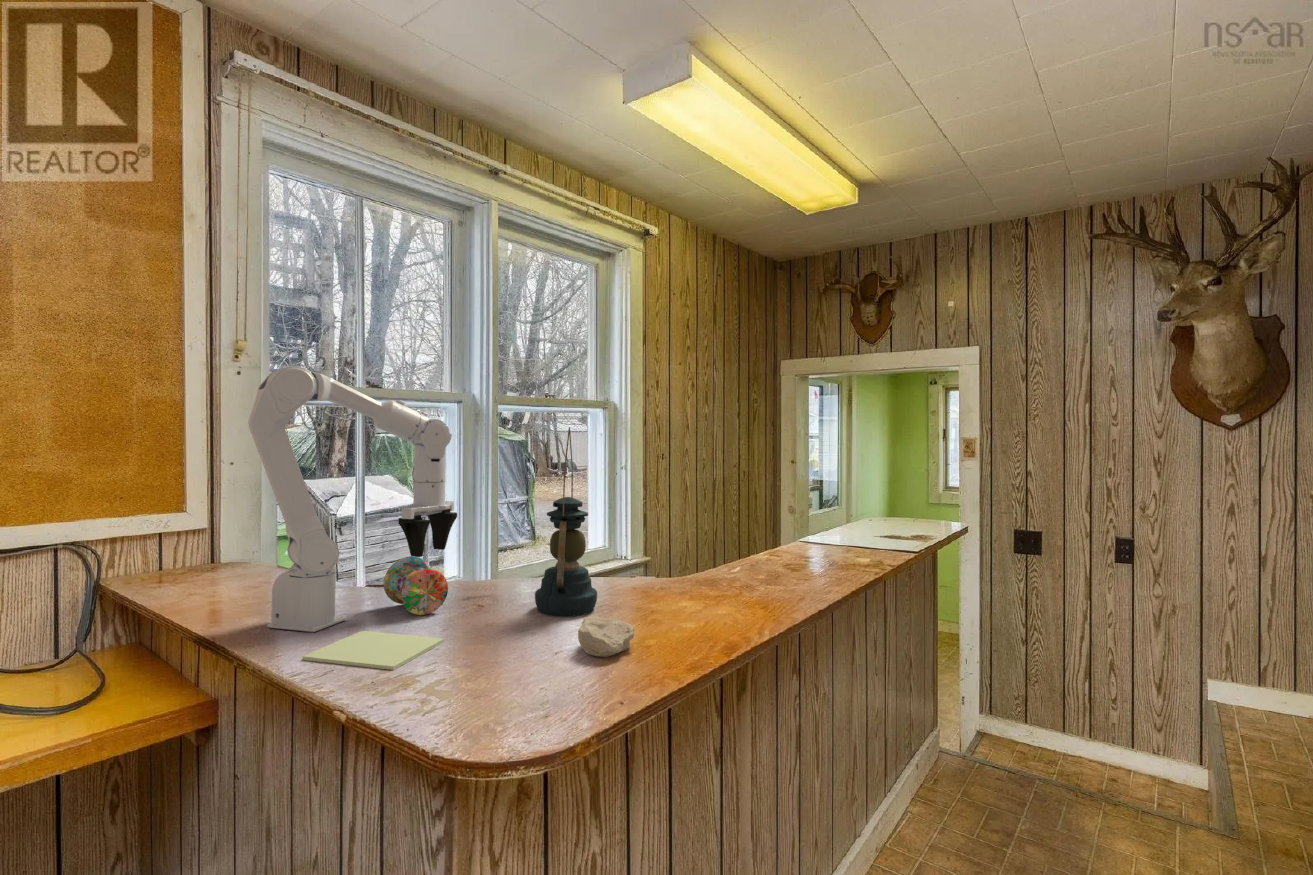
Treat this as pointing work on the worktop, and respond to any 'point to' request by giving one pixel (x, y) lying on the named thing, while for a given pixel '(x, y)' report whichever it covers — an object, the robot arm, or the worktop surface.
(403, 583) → the mug
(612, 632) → the beige stone
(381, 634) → the mat
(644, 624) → the worktop surface
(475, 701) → the worktop surface
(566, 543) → the lantern
